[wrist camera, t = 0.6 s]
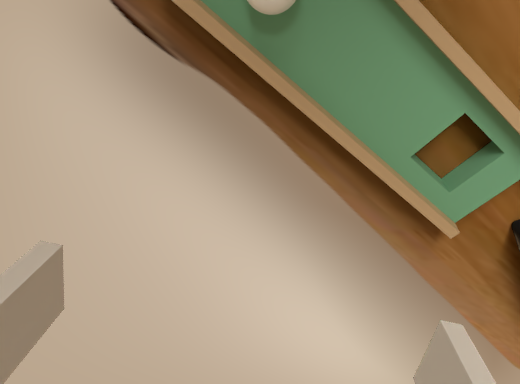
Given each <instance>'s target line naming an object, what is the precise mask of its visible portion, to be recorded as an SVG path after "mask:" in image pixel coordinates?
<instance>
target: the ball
mask: <svg viewBox="0 0 520 384" xmlns="http://www.w3.org/2000/svg"><path fill="white" fill-rule="evenodd" d="M247 1H248V3H249V4H250V5H251V6H252V7H253V8H254V9H255V10H257V11H259V12H261V13H263V14H268V15H275V14H280V13H282V12H284V11H286V10H287V9H289V8H290V7H291V6H292V5H293V4H294V2H295V1H296V0H247Z"/></svg>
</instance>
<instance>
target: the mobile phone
mask: <svg viewBox="0 0 520 384" xmlns="http://www.w3.org/2000/svg"><path fill="white" fill-rule="evenodd" d="M512 230H513V232H514V235H515V238H516V241H517V244H518V248H519V251H520V220H517V221H514V222H513V224H512Z"/></svg>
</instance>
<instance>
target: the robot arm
mask: <svg viewBox="0 0 520 384" xmlns="http://www.w3.org/2000/svg"><path fill="white" fill-rule="evenodd" d="M63 309H64V283H63V245H59V244H54V243H49V242H44V241H40V242H39V243H37V244H36V245H35V246H34V247H33V248H32V249H30V250H29V251H28V252H27V253H26V254H24V255H23V256H22V257H21V258H20V259H19V260H17V262H15V263H14V264H13V265H12V266H10V267H9V268H8V269H7V270H6V271H5V272H3V273H2V274H1V275H0V384H4V382H5V381H6V380H7V379H8V377H9V376H10V375H11V373H12V372H13V371H14V370H15V369H16V367H17V366H18V365H19V363H20V362H21V361H22V360H23V359H24V358H25V356H26V355H27V354H28V353H29V351H30V350H31V349H32V348H33V346H34V345H35V344H36V343H37V341H38V340H39V339H40V337H42V335H43V334H44V333H45V332H46V330H47V329H48V328H49V327H50V325H51V324H52V323H53V322H54V320H55V319H56V318H57V317H58V316H59V314H60V313H61V312H62V311H63ZM413 378H414V381H415V384H496V382H495V381H494V379H493V377H492V375H491V374H490V372H489V370H488V368H487V367H486V365H485V363H484V362H483V360H482V358H481V356H480V355H479V353H478V351H477V349H476V348H475V346H474V344H473V342H472V341H471V339H470V337H469V335H468V334H467V332H466V330H465V328H464V327H463V325H462V324H457V323H452V322H447V321H442V320H440V322H439V324H438V326H437V328H436V331H435V333H434V335H433V337H432V339H431V341H430V343H429V345H428V348H427V350H426V352H425V354H424V356H423V358H422V360H421V363H420V365H419V367H418V369H417V371H416V373H415V375H414V377H413Z"/></svg>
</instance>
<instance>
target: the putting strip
mask: <svg viewBox="0 0 520 384" xmlns="http://www.w3.org/2000/svg"><path fill="white" fill-rule="evenodd" d="M172 1H173V2H174V3H175V4H176V5H178V6H179V7H180V8H181V9H182V10H183V11H185V12H186V13H187V14H188V15H189V16H190V17H192V18H193V19H194V20H195V21H196V22H197V23H199V24H200V25H201V26H202V27H203V28H204V29H206V30H207V31H208V32H209V33H210V34H211V35H213V36H214V37H215V38H216V39H217V40H219V41H220V42H221V43H222V44H223V45H224V46H226V47H227V48H228V49H229V50H230V51H231V52H233V53H234V54H235V55H236V56H237V57H238V58H240V59H241V60H242V61H243V62H244V63H245V64H247V65H248V66H249V67H250V68H251V69H253V70H254V71H255V72H256V73H257V74H258V75H260V76H261V77H262V78H263V79H264V80H265V81H267V82H268V83H269V84H270V85H271V86H272V87H274V88H275V89H276V90H277V91H278V92H279V93H281V94H282V95H283V96H284V97H285V98H287V99H288V100H289V101H290V102H291V103H292V104H294V105H295V106H296V107H297V108H298V109H299V110H301V111H302V112H303V113H304V114H305V115H306V116H308V117H309V118H310V119H311V120H312V121H313V122H315V123H316V124H317V125H318V126H319V127H321V128H322V129H323V130H324V131H325V132H326V133H328V134H329V135H330V136H331V137H332V138H333V139H335V140H336V141H337V142H338V143H339V144H340V145H342V146H343V147H344V148H345V149H346V150H347V151H349V152H350V153H351V154H352V155H353V156H354V157H356V158H357V159H358V160H359V161H360V162H362V163H363V164H364V165H365V166H366V167H367V168H369V169H370V170H371V171H372V172H373V173H374V174H376V175H377V176H378V177H379V178H380V179H381V180H383V181H384V182H385V183H386V184H387V185H388V186H390V187H391V188H392V189H393V190H394V191H396V192H397V193H398V194H399V195H400V196H401V197H403V198H404V199H405V200H406V201H407V202H408V203H410V204H411V205H412V206H413V207H414V208H415V209H417V210H418V211H419V212H420V213H421V214H422V215H424V216H425V217H426V218H427V219H428V220H430V221H431V222H432V223H433V224H434V225H435V226H437V227H438V228H439V229H440V230H441V231H442V232H444V233H445V234H446V235H447V236H448V237H449V238H453V237H454V236H456V235H457V234H459V233H460V232H459V230H458V228H457V226H456V224H455V222H457V221H458V220H460V219H461V218H463V217H464V216H466V215H467V214H469V213H470V212H472V211H473V210H475V209H476V208H478V207H479V206H481V205H482V204H484V203H485V202H487V201H488V200H490V199H491V198H493V197H494V196H496V195H497V194H499V193H500V192H502V191H503V190H505V189H506V188H508V187H509V186H511V185H512V184H514V183H515V182H517V181H518V180H520V111H519V110H518V109H517V108H516V107H515V106H514V104H513V103H512V102H511V101H510V100H509V99H508V98H507V97H506V96H505V95H504V93H503V92H502V91H501V90H500V89H499V88H498V87H497V86H496V85H495V84H494V83H493V81H492V80H491V79H490V78H489V77H488V76H487V75H486V74H485V73H484V72H483V70H482V69H481V68H480V67H479V66H478V65H477V64H476V63H475V62H474V61H473V59H472V58H471V57H470V56H469V55H468V54H467V53H466V52H465V51H464V50H463V48H462V47H461V46H460V45H459V44H458V43H457V42H456V41H455V40H454V39H453V38H452V36H451V35H450V34H449V33H448V32H447V31H446V30H445V29H444V28H443V27H442V25H441V24H440V23H439V22H438V21H437V20H436V19H435V18H434V17H433V16H432V14H431V13H430V12H429V11H428V10H427V9H426V8H425V7H424V6H423V5H422V4H421V2H420V1H419V0H296V1H295V2H294V4H293V5H292V6H291V7H290V8H289V9H287V10H286V11H284V12H282V13H280V14H275V15H268V14H263V13H261V12H259V11H257V10H255V9H254V8H253V7H252V6H251V5H250V4H249V3H248V1H247V0H172ZM464 113H466V114H467V115H468V116H469V117H470V118H471V119H472V120H473V121H474V123H475V124H476V125H477V126H478V127H479V128H480V129H481V130H482V131H483V132H484V133H485V134H486V135H487V136H488V137H489V138H490V139H491V140H492V141H491V142H490V143H489V144H487V145H486V146H485V147H483V148H482V149H481V150H479V151H478V152H476V153H475V154H474V155H472V156H471V157H470V158H468V159H467V160H466V161H464V162H463V163H462V164H460V165H459V166H458V167H456V168H455V169H454V170H452V171H451V172H450V173H448V174H447V175H446V176H444V177H443V178H440V177H439V176H438V175H437V174H435V173H434V172H433V171H432V170H431V169H430V168H429V167H428V166H427V165H426V164H425V163H423V162H422V161H421V160H420V159H419V158H418V157H417V156H416V155H415V153H416V152H417V151H419V150H420V149H421V148H422V147H424V146H425V145H426V144H427V143H429V142H430V141H431V140H432V139H433V138H435V137H436V136H437V135H438V134H440V133H441V132H442V131H443V130H445V129H446V128H447V127H448V126H450V125H451V124H452V123H453V122H455V121H456V120H457V119H458V118H459V117H461V116H462V115H463V114H464Z"/></svg>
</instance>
